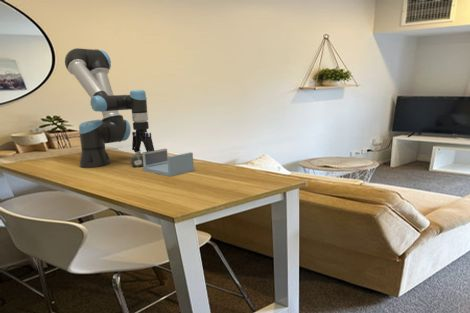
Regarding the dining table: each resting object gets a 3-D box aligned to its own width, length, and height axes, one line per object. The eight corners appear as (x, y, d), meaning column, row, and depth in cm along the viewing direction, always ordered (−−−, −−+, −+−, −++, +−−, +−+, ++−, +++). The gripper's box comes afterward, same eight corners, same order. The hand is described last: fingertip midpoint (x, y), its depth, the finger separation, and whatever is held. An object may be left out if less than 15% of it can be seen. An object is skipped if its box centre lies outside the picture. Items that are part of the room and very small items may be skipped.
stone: (143, 175, 170) (131, 159, 166) (137, 176, 175) (125, 160, 172) (163, 159, 177) (152, 143, 174) (156, 160, 183) (146, 145, 179)
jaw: (143, 166, 163) (142, 152, 162) (166, 162, 172) (165, 148, 171) (145, 167, 161) (144, 152, 160) (168, 162, 171) (167, 148, 169)
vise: (142, 170, 163) (140, 152, 162) (166, 165, 173) (165, 148, 171) (169, 176, 148) (168, 157, 147) (194, 170, 158) (193, 152, 157)
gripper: (122, 121, 175) (126, 163, 179) (146, 122, 160) (150, 169, 164) (135, 120, 181) (139, 161, 185) (159, 121, 166) (163, 166, 170)
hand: (144, 165), depth 174 cm, fingers open, 10 cm apart
